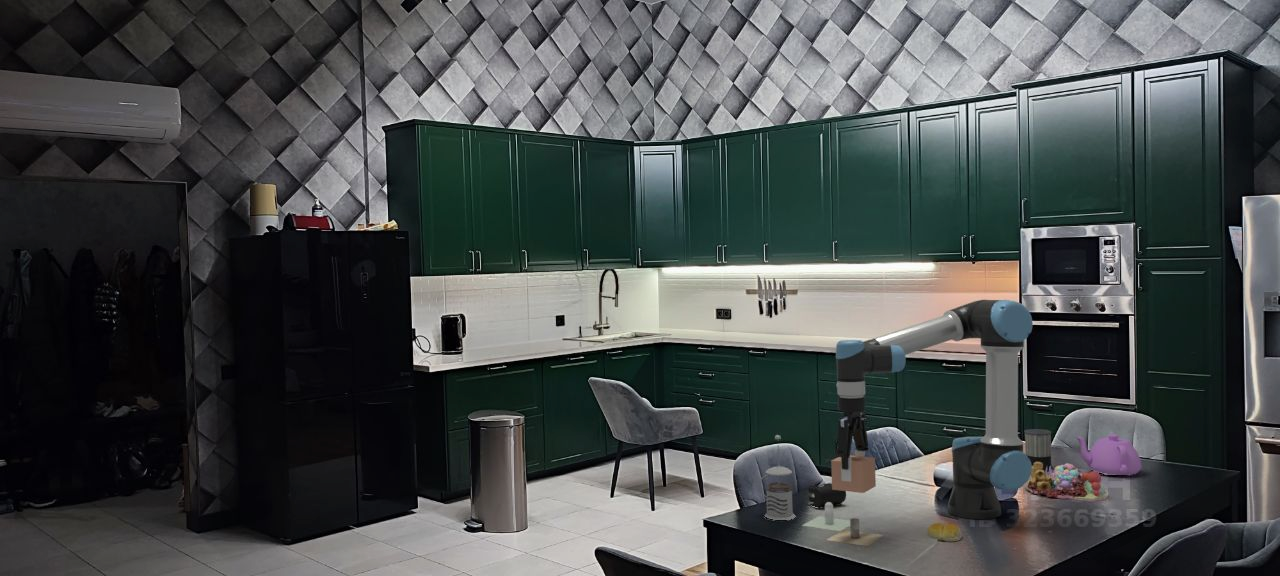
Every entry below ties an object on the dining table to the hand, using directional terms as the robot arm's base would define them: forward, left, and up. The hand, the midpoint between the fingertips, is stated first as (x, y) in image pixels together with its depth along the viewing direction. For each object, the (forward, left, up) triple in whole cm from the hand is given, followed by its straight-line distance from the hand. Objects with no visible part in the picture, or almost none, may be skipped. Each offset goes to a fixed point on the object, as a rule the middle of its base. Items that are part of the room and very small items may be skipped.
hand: (853, 477), depth 253 cm
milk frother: (-20, -113, -17) cm, 116 cm away
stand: (0, 0, -17) cm, 17 cm away
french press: (+30, -12, -17) cm, 37 cm away
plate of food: (-38, -85, -18) cm, 95 cm away
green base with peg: (+12, -10, -17) cm, 23 cm away
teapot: (-45, -121, -18) cm, 130 cm away
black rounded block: (+22, -31, -18) cm, 42 cm away
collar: (0, 0, -3) cm, 3 cm away
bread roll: (-20, -14, -18) cm, 30 cm away
